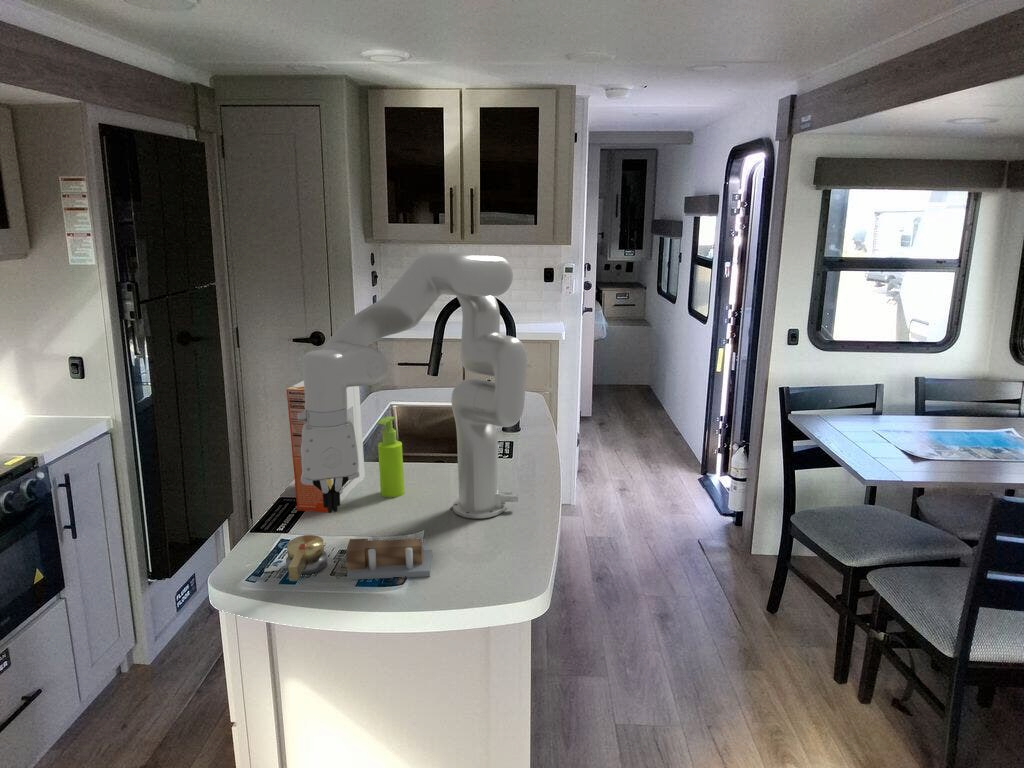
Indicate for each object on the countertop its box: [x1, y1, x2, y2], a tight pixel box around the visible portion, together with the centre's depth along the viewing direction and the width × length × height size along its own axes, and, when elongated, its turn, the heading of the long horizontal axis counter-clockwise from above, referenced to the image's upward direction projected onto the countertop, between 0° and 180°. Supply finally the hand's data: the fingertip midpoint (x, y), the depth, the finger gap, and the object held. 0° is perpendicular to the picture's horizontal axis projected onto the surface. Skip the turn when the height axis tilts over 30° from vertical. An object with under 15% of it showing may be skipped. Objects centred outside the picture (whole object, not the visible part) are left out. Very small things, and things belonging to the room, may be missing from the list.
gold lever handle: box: [286, 534, 325, 582], centre depth 141 cm, size 14×7×3 cm, turn 3°
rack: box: [346, 534, 433, 581], centre depth 144 cm, size 16×9×5 cm, turn 93°
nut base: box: [263, 550, 329, 577], centre depth 145 cm, size 12×8×2 cm, turn 93°
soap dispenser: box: [376, 415, 405, 498], centre depth 180 cm, size 6×7×20 cm
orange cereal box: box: [286, 380, 366, 513], centre depth 180 cm, size 23×8×30 cm, turn 170°
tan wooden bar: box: [345, 537, 424, 571], centre depth 144 cm, size 15×5×4 cm, turn 93°
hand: (332, 509), depth 137 cm, fingers closed
